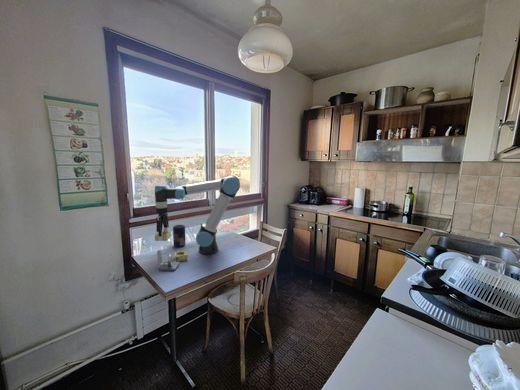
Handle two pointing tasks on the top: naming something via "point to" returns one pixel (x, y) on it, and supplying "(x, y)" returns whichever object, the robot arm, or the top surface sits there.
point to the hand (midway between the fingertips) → (163, 238)
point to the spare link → (180, 256)
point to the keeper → (166, 263)
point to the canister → (179, 235)
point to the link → (165, 236)
